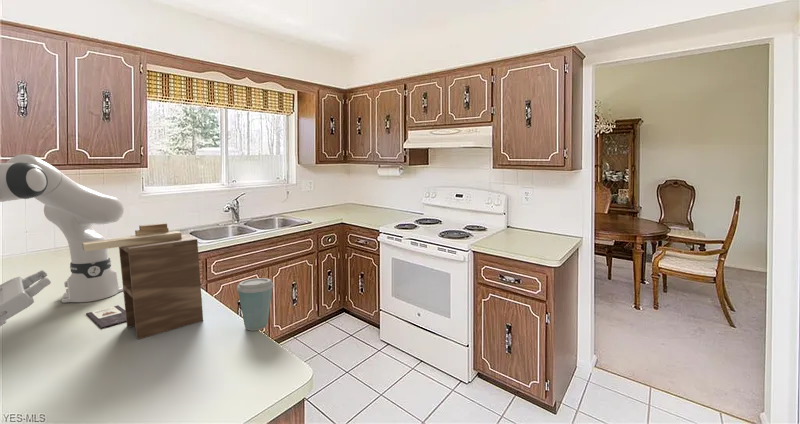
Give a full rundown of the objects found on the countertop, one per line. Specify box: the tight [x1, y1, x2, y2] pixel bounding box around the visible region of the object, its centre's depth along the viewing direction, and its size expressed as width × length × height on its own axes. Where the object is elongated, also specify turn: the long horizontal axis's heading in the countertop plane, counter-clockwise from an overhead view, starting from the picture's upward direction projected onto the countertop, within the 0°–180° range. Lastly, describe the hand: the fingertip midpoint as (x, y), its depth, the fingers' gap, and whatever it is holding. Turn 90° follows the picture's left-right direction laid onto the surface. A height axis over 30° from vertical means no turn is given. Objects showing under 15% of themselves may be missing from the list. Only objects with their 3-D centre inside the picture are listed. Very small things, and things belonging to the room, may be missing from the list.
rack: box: [118, 222, 204, 340], centre depth 119 cm, size 13×18×32 cm
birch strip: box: [82, 230, 182, 251], centre depth 113 cm, size 4×24×2 cm, turn 137°
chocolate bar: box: [86, 305, 127, 330], centre depth 126 cm, size 9×1×18 cm
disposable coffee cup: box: [236, 277, 275, 331], centre depth 118 cm, size 11×11×15 cm
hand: (47, 275), depth 99 cm, fingers open, 8 cm apart
